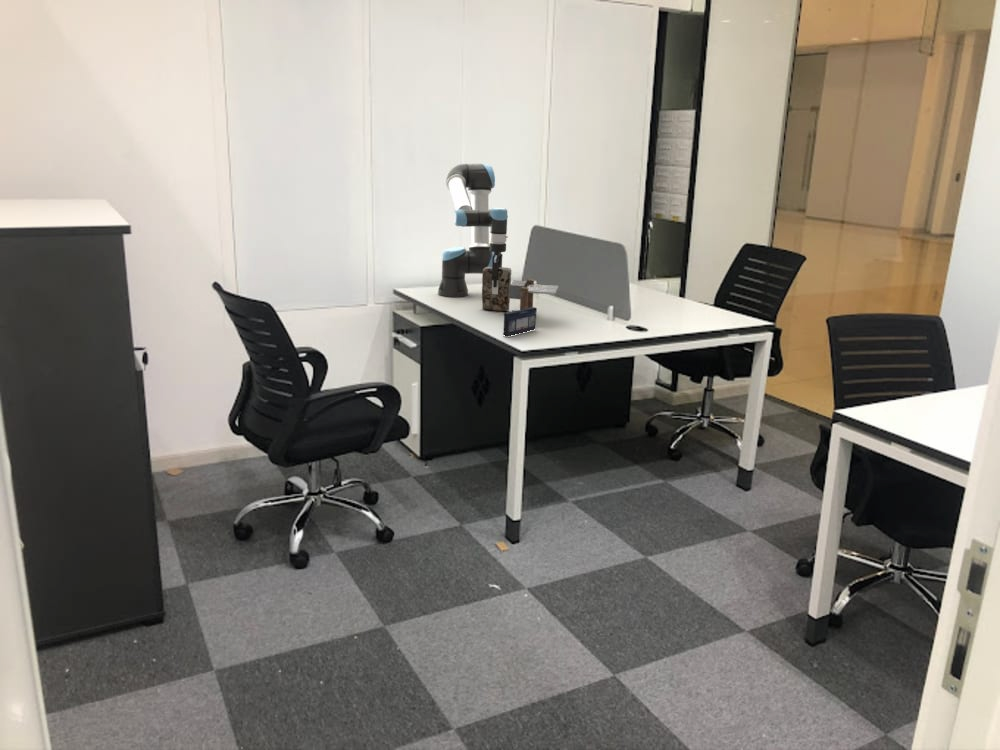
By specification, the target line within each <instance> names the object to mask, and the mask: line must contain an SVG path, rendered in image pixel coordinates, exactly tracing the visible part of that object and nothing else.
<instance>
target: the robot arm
mask: <svg viewBox="0 0 1000 750" xmlns="http://www.w3.org/2000/svg"><path fill="white" fill-rule="evenodd" d="M495 182H496V176H495V172H494V169H493V167H492V165H490V164H486V163H458V164H456V165H454V166H453V167H451V168H450V169H449V170H448V171H447V174H446V177H445V185H446V187H447V190H448V191H450V194H451V196H452V198H451V199H452V200H453V204H454V208H455V210H454V212H453V213H454V214H453V223H454V225H455V226H456V227H462V228H463V227H470V228H471V244H470V245H469V246H468V250H467V248H465V247H462V246H461V247H460V246H456V247H449V248H446V249H444V250H443V251H442V253H441V256H442V257H441V280H440V283H439V287H438V291H437V294H438V295H439V296H441V297H446V296H448V297H447V298H461V297H462V296H463V297H466V296H468V295H469V289H468V285H467V282H466V275H468V274H470V275H471V274H472V275H473V274H475V275H476V274H477V275H479V274H480V275H483V269H484V268H486V267H492V279H491V280H492V294H498V281H499V280H498V273H499V267H503V253H505V252H506V251H507V239H508V238H509V237H508V235H507V232H508V209H507V208H503V207H492V208H490V209H489V195H490V194H491V192H492V189H494V188H495V187H496V186H495V185H496V183H495ZM468 193H469V194H470V197H469V194H468ZM470 198H471V200H470ZM489 229H490V231H489ZM489 232H490V233H489ZM489 242H490V243H489ZM463 297H462V298H463Z"/></svg>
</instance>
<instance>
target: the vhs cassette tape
mask: <svg viewBox="0 0 1000 750" xmlns="http://www.w3.org/2000/svg"><path fill="white" fill-rule="evenodd" d="M537 309H538V308H537V307H534V306H533V307H531V308H526V309H521V310H520V309H519V310H518V309H516V311H513V312H512V311H508V312H504V314H503V330H502V331H503V332H502V335H505V336H511V335H515V334H519V333H523V332H527V331H530V330H534V329H535V330H536V324H537Z"/></svg>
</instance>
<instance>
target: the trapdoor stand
mask: <svg viewBox="0 0 1000 750" xmlns="http://www.w3.org/2000/svg"><path fill="white" fill-rule="evenodd" d="M526 281H527V287H528V286H529V284H535V279H528V278H527V280H526ZM519 300H520V301H519V302H520V303H519V310H521V309H526V308H531V307H534V305H533V304H534V293H528V288H526V287H521V297H520V299H519ZM513 311H517V309H516V310H511V312H513Z"/></svg>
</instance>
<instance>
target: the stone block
mask: <svg viewBox="0 0 1000 750" xmlns="http://www.w3.org/2000/svg"><path fill="white" fill-rule="evenodd" d="M481 275H482V277H481V279H482V281H481V282H482V285H481V303H482V305H481V306H482V308H481V309H482V310H484V311H498V312H499V311H500V312H510V311H509V310H510V302H511V299H509V298H510V285H511V283H512V268H511V267H503V266H502V267H499V273H498V280H499V281H498V294H492V280H491V279H492V267H486V268H484V269H483V274H481Z"/></svg>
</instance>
